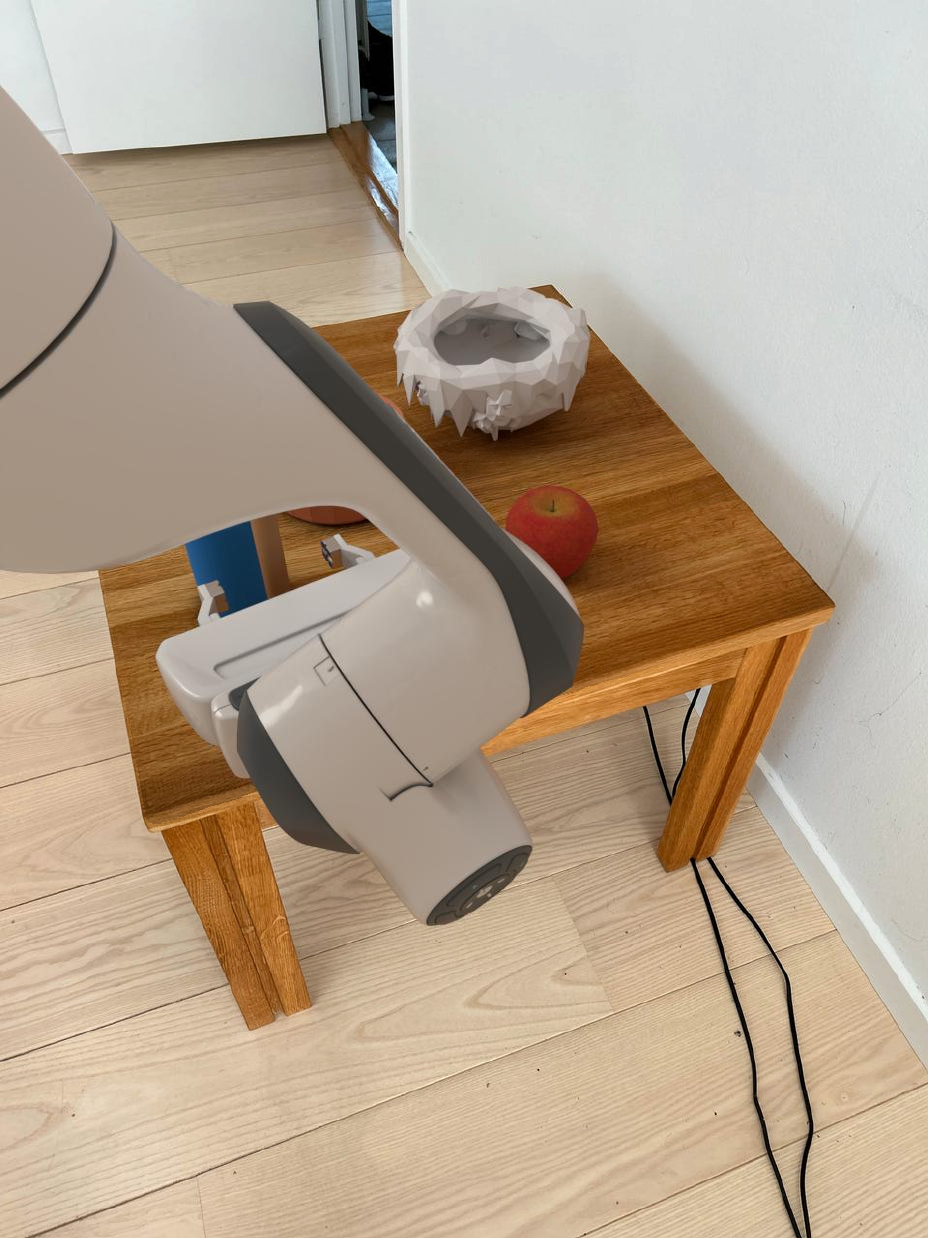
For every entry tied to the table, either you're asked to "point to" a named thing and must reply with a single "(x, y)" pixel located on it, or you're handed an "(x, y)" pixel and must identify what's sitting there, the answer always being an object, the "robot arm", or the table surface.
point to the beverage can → (229, 565)
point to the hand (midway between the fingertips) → (270, 565)
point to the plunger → (271, 555)
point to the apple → (555, 526)
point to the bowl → (492, 357)
